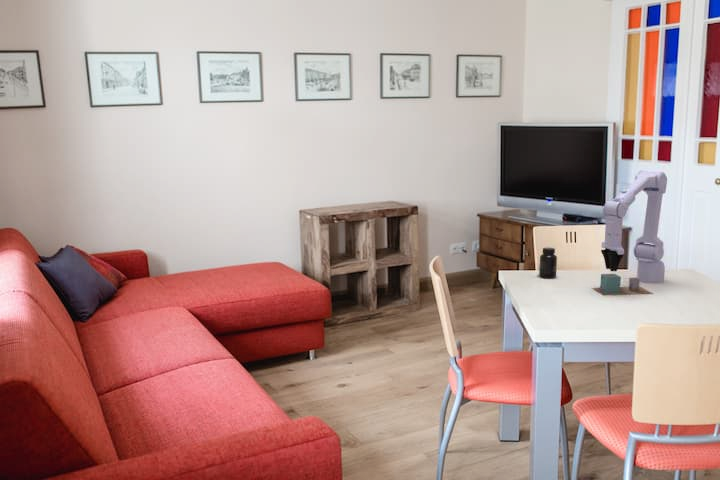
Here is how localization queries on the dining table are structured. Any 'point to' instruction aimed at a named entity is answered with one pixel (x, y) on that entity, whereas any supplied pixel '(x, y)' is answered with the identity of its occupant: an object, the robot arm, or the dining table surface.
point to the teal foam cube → (610, 283)
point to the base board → (625, 291)
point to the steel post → (633, 284)
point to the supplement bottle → (548, 263)
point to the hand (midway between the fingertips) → (611, 269)
